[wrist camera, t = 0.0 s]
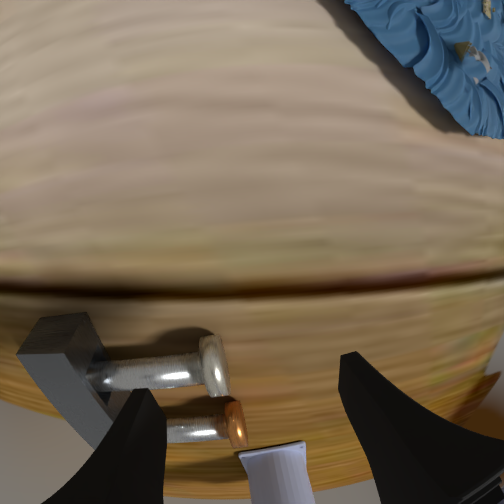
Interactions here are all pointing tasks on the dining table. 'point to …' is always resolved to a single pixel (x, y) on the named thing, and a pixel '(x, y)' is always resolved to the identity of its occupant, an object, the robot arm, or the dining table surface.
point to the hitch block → (71, 373)
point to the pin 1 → (166, 371)
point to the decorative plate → (448, 52)
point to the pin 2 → (211, 427)
